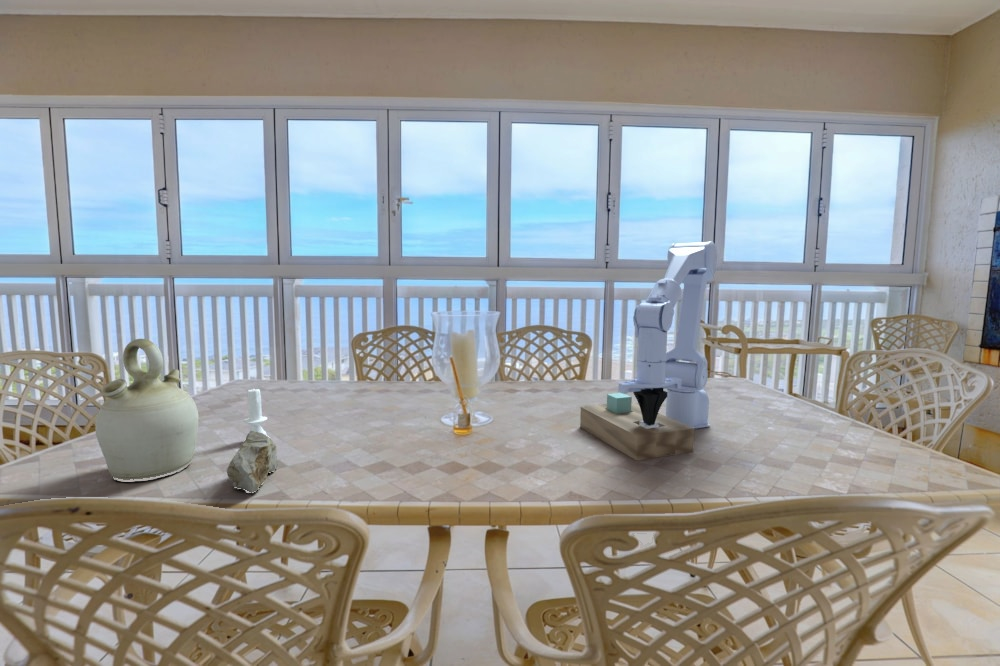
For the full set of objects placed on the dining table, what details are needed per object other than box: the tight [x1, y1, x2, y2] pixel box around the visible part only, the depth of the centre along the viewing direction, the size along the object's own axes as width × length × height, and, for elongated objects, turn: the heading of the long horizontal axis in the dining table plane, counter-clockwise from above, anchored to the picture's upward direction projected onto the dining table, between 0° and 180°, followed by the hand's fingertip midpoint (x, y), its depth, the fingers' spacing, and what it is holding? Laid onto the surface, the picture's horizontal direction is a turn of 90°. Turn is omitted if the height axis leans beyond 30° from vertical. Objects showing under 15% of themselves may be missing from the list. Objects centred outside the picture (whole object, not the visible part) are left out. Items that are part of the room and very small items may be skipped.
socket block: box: [579, 402, 695, 462], centre depth 104 cm, size 14×22×5 cm, turn 20°
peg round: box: [639, 421, 659, 429], centre depth 99 cm, size 4×4×5 cm
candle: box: [243, 388, 269, 437], centre depth 103 cm, size 5×5×12 cm
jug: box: [94, 338, 200, 480], centre depth 87 cm, size 15×16×25 cm
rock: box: [226, 430, 279, 493], centre depth 82 cm, size 12×7×10 cm, turn 6°
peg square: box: [606, 392, 633, 414], centre depth 109 cm, size 4×4×5 cm
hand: (648, 423), depth 99 cm, fingers closed, pressing on peg round
